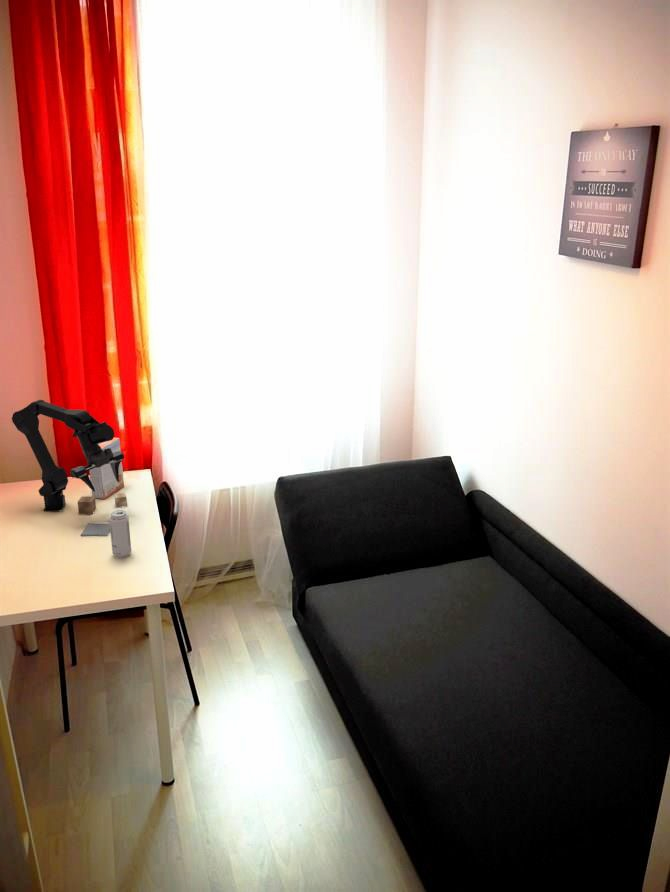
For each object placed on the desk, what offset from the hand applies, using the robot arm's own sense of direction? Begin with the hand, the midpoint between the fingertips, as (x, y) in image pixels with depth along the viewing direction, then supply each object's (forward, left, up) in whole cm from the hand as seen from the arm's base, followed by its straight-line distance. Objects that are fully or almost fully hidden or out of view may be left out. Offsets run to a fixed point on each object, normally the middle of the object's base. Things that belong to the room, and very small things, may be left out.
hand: (106, 486), depth 268 cm
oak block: (+1, +13, -13) cm, 18 cm away
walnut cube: (-10, +7, -13) cm, 18 cm away
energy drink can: (+11, -27, -13) cm, 32 cm away
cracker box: (-7, +25, -13) cm, 29 cm away
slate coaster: (-2, -9, -13) cm, 16 cm away
